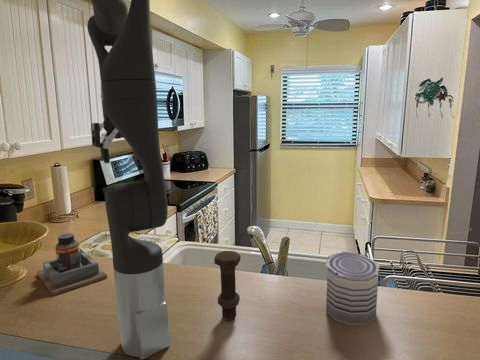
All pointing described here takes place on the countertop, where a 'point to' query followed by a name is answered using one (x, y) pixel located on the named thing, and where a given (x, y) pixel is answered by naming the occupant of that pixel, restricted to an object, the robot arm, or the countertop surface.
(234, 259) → the bolt
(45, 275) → the socket board
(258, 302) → the countertop surface
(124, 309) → the robot arm
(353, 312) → the can
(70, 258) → the supplement bottle
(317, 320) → the countertop surface
